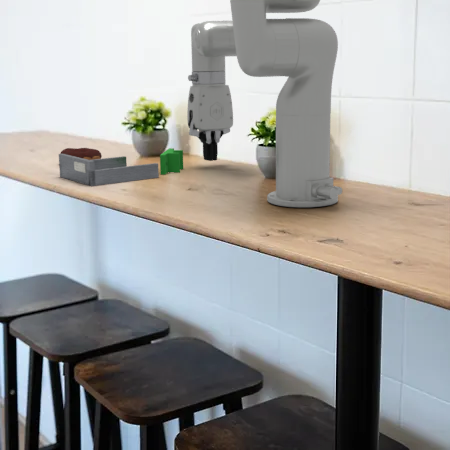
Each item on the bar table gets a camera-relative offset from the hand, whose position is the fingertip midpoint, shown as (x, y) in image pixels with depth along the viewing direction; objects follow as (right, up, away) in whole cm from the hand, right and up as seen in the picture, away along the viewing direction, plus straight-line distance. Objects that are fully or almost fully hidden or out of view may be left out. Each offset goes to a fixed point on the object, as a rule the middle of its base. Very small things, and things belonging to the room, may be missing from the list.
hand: (210, 159), depth 179 cm
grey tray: (-22, -5, -11) cm, 25 cm away
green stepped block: (-8, -3, -4) cm, 10 cm away
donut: (-31, -1, +8) cm, 32 cm away
